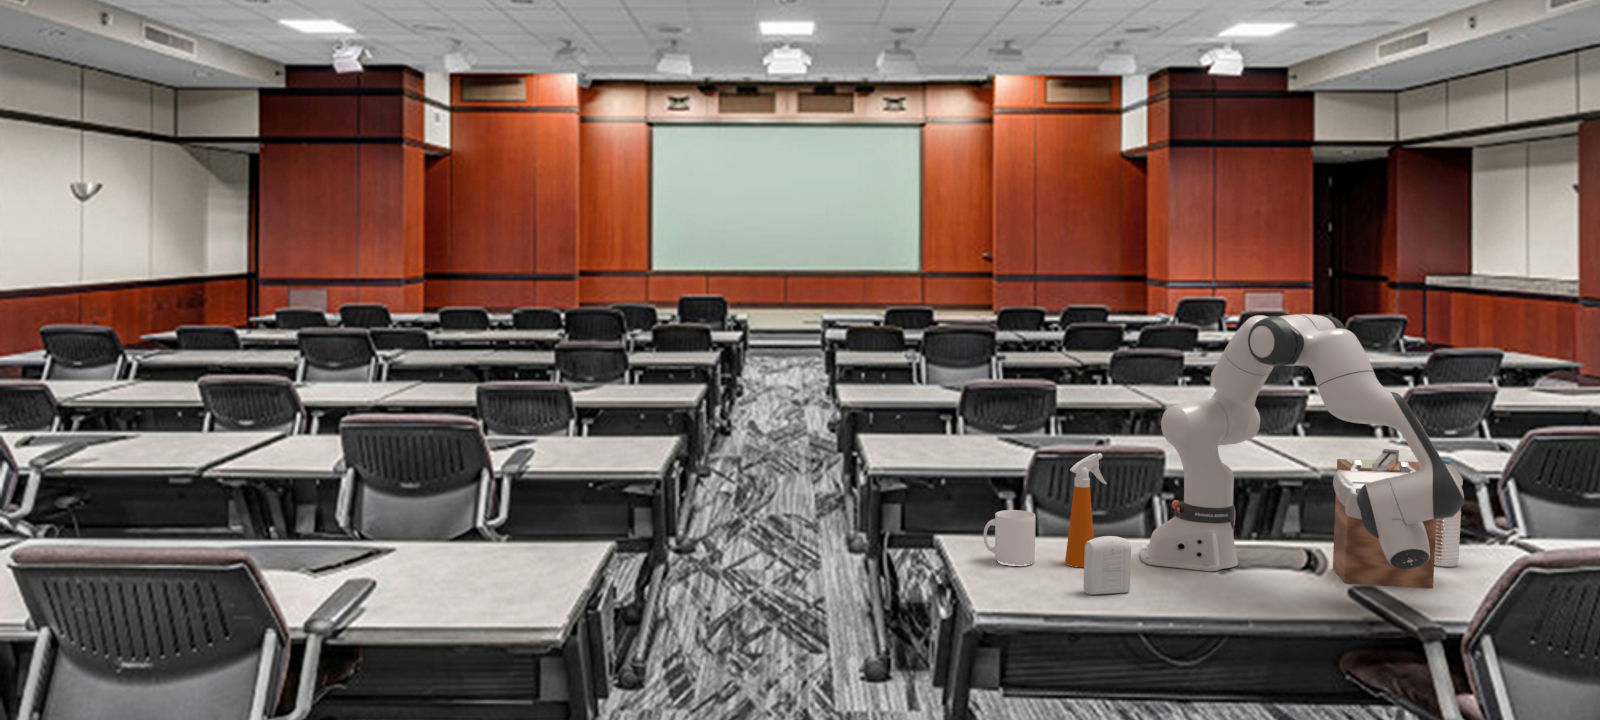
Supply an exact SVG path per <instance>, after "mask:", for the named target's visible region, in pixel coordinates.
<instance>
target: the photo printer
mask: <svg viewBox="0 0 1600 720" xmlns="http://www.w3.org/2000/svg"><path fill="white" fill-rule="evenodd" d="M1131 555H1132V547H1131V543H1130V540H1128V539H1127V538H1123V537H1120V536H1114V535H1104V536H1099V537H1094V539H1092V540H1089V541H1087V542H1086V544H1085V556H1084V568H1083V592H1084V593H1085V594H1086V595H1107V594H1122V593H1129V592H1130V589H1131V562H1132V560H1131V559H1132V556H1131Z"/></svg>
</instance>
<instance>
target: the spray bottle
mask: <svg viewBox="0 0 1600 720" xmlns="http://www.w3.org/2000/svg"><path fill="white" fill-rule="evenodd" d="M1101 459H1103V454H1102V453H1101V452H1099V453H1092V454H1090V455H1088V456H1086V457H1084V458H1083V459H1080V460H1078V462H1076V463H1075V464H1074V465H1073V466H1072V467H1071V468H1070V469H1069V471H1070V472H1072V473H1074V474H1075V477H1074V480H1073V481H1074V484H1073V492H1072V500H1071V501H1072V502H1071V509H1070V517H1069V524H1068V525H1069V526H1068V535H1067V536H1068V537H1067V542H1066V543H1067V544H1066V552H1065V561H1064V562H1065V564H1066V563H1067V564H1069V565H1072V566H1077V567H1084V556H1085V544H1086V542H1087V541H1089V540H1092V539H1094V538H1095V535H1094V534H1095V533H1094V525H1093V524H1094V523H1093V511H1092V508H1093V507H1092V497H1091V495H1092V494H1091V484H1090V482H1091V479H1090V477H1089V474H1090V473H1092V474H1093V475H1094V476H1095V477H1096V479H1097V480H1098V481H1100V482H1101V483H1102V484H1104V485H1107V484H1108V483H1107V482H1106V480H1105V479H1104V477H1103V475H1102V472H1101V471H1100V468H1099V466H1100V462H1099V460H1101ZM1067 564H1066V565H1067ZM1069 565H1068V566H1069Z"/></svg>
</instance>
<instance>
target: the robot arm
mask: <svg viewBox="0 0 1600 720" xmlns="http://www.w3.org/2000/svg"><path fill="white" fill-rule="evenodd" d="M1224 348H1225V349H1224V350H1223V352H1222V353H1221V355H1220V357H1219V359H1218V360H1217V362H1216V364H1215V366H1214V368H1213V369H1212V371H1211V374H1210V380H1211V383H1212V386H1213V388H1214V390H1215V391H1216V392H1215V394H1214V395H1213V396H1212V397H1211V398H1209V399H1206V400H1204V399H1203V400H1190V401H1188V400H1187V401H1184V402H1181V403H1177V404H1174V405H1171V406H1169V407H1168V408H1167V409H1166V410H1165V411H1163V414H1162V417H1161V422H1160V426H1161V432H1162V435H1163V436H1164V437H1163V438H1165V440H1166V441H1167V442H1168V443H1169V444H1170V445H1171V446H1172V447H1173V448H1174V449H1175V450H1176V452H1177V453H1178V455H1179V458H1180V461H1181V464H1182V469H1183V480H1184V481H1183V482H1184V483H1183V486H1184V487H1183V488H1184V489H1183V492H1184V493H1183V494H1184V495H1183V500H1182V501H1179V500H1177V499H1174V500H1173V501H1171V506H1172V508H1173V509H1174V516H1173V517H1172V518H1171V519H1169V520H1168V521H1166V522H1164V523H1163V524H1161V525H1159V526H1158V527H1157V528H1155V529H1154V530H1153V532H1152V534H1151V536H1150V540H1149V545H1148V546H1146V547H1144V548H1141V549H1140V551H1139V560H1140V561H1142V562H1143V563H1144V564H1146V565H1149V566H1155V567H1156V566H1157V567H1166V568H1167V567H1168V568H1175V569H1176V568H1177V569H1187V570H1193V571H1195V570H1196V571H1203V572H1205V571H1206V572H1217V571H1220V570H1222V569H1224V570H1225V569H1229V568H1234V567H1237V566H1238V565H1239V560H1238V557H1237V552H1236V545H1235V535H1234V528H1235V524H1236V509H1235V508H1236V506H1235V504H1234V485H1235V484H1234V483H1235V482H1234V481H1235V475H1234V472H1233V470H1232V469H1231V468H1230V466H1228V465H1227V464H1226V463H1223V462H1222V460H1221V457H1220V454H1219V446H1226V445H1227V446H1228V445H1229V446H1230V445H1236V444H1237V445H1238V444H1240V443H1242V442H1246V441H1247V440H1251V439H1253V438H1254V437H1256V435H1257V434H1258V432H1259V430H1260V427H1261V415H1260V413H1259V410H1258V409H1257V407H1256V401H1257V397H1258V395H1259V394H1260V391H1261V389H1262V387H1263V386H1264V385H1265V383H1266V381H1267V379H1268V377H1269V376H1270V375H1271V373H1272V371H1273V369H1274V367H1282V366H1287V367H1288V366H1289V367H1295V366H1296V367H1297V366H1298V367H1299V366H1304V365H1305V366H1307V367H1308V369H1310V370H1311V372H1312V374H1313V378H1314V381H1315V383H1316V386H1317V387H1316V388H1317V390H1318V393H1319V396H1320V398H1321V401H1322V402H1323V404H1324V407H1325V408H1326V410H1327V411H1328V412H1329V413H1330V414H1331V415H1332V416H1334V417H1335V418H1337V419H1339V420H1342V421H1344V422H1348V423H1349V422H1350V423H1354V424H1363V425H1364V424H1365V425H1378V426H1385V427H1390V428H1393V429H1395V430H1396V431H1398V432H1399V433H1400V434H1401V436H1402V437H1403V438H1404V440H1405V442H1406V443H1407V445H1408V447H1409V448H1410V451H1411V452H1412V454H1413V456H1414V457H1415V458H1416V461H1417V462H1419V464H1420V469H1419V470H1417V471H1416V470H1414V469H1413V468H1411V467H1409V464H1408V462H1400V465H1399V469H1400V472H1402V473H1400V472H1374V471H1360V470H1361V465H1362V464H1361V461H1360V460H1361V459H1358V460H1353V461H1352V468H1351V469H1350V471H1347V470H1338V471H1337V470H1336V472H1334V475H1333V481H1332V485H1333V489H1334V493H1335V496H1336V495H1337V497H1338V499H1339V501H1340V502H1341V503H1342V504H1343V505H1345V512H1346V515H1347V516H1350V517H1353V518H1357V519H1361V520H1362V521H1363V524H1364V527H1365V528H1366V530H1367V531H1368V532H1369V533H1370V534H1372V535H1373V536H1374V537H1376V538H1378V540H1379V543H1380V545H1381V548H1382V550H1383V552H1384V555H1385V557H1386V558H1387V560H1388V562H1389V563H1390V565H1391V566H1393V567H1395V568H1398V569H1412V568H1416V567H1420V566H1422V565H1424V564H1425V563H1426V562H1427V561H1428V560H1429V558H1430V547H1429V541H1428V537H1427V533H1426V529H1425V526H1424V524H1423V523H1422V521H1427V520H1431V519H1434V520H1435V519H1442V518H1449V517H1453V516H1454V515H1455V514H1456V513H1457V512H1458V511H1459V510H1460V508H1461V509H1462V507H1463V506H1464V503H1465V494H1464V490H1463V486H1462V487H1461V485H1460V483H1459V481H1458V480H1457V478H1456V477H1455V476H1454V475H1453V473H1452V472H1451V471H1450V470H1449V469H1448V468H1447V466H1446V465H1445V464H1444V462H1443V461H1442V460H1443V459H1442V458H1441V456H1440V454H1439V452H1438V451H1437V449H1436V447H1435V445H1434V444H1433V442H1432V441H1431V439H1430V437H1429V436H1428V433H1426V430H1425V429H1424V427H1423V425H1422V423H1421V422H1420V420H1419V419H1418V418H1417V416H1416V415H1415V413H1414V412H1413V410H1412V408H1411V406H1410V405H1409V404H1408V402H1407V401H1406V400H1405V399H1404V397H1403V396H1402V395H1400V394H1399V393H1398V392H1395V391H1394V392H1393V391H1390V390H1388V389H1387V388H1385V386H1383V385H1382V383H1380V381H1379V380H1378V378H1377V376H1376V373H1375V371H1374V369H1373V366H1372V364H1371V361H1370V359H1369V357H1368V355H1367V353H1366V351H1365V349H1364V347H1363V346H1362V343H1361V342H1360V341H1359V339H1358V337H1357V336H1356V334H1355V333H1354V332H1352V331H1350V330H1349V329H1346V328H1345V325H1344V324H1343V323H1342V321H1341V320H1339V319H1338V318H1336V317H1333V316H1331V315H1328V314H1322V313H1321V314H1320V313H1318V314H1309V313H1294V314H1288V315H1287V314H1286V315H1281V316H1276V315H1273V316H1272V315H1271V316H1266V315H1263V314H1262V315H1259V314H1257V315H1254V316H1251V317H1249V318H1248V319H1247V320H1246V321H1244V323H1243V324H1242V325H1241V326H1240V327H1239V328H1238V329H1237V331H1236V332H1235V333H1234V335H1233V336H1232V338H1231V339H1230V340H1229V341H1228V344H1227V345H1226V347H1224Z"/></svg>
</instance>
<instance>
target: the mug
mask: <svg viewBox="0 0 1600 720" xmlns="http://www.w3.org/2000/svg"><path fill="white" fill-rule="evenodd" d="M994 516H995V517H994V518H993V519H991V520H989V521H988V522H987V523H986V524H985V526H984V529H983V543H984V546H985V548H986V549H987V550H988V551H989V552H992V553H993V554H994V560H995V559H996V560H998V561H1000V562H1003V563H1008V564H1015V565H1024V564H1031V563H1033V562H1034V563H1035V559H1036V551H1035V550H1036V513H1034V512H1030V511H1027V510H1020V509H1019V510H1017V509H1007V510H1000V511H996V512H995V513H994ZM990 526H995V527H994V528H995V529H994V546H993V547H991V546H990V545H989V543H988V539H987V538H988V537H987V535H988V534H987V533H988V530H989V528H990ZM1034 563H1033V564H1034Z"/></svg>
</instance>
